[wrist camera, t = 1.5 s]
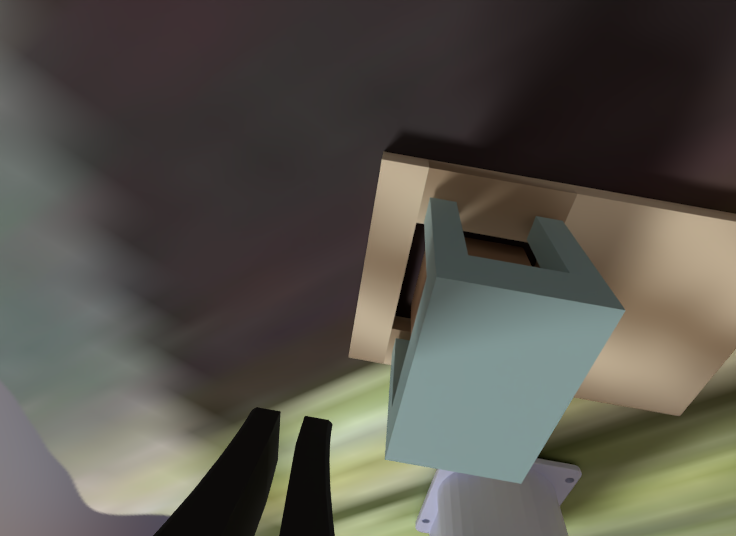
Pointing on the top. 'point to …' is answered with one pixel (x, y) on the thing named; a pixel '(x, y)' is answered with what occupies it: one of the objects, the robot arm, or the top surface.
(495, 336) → the cover
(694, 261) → the board
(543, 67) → the top surface
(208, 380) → the top surface
